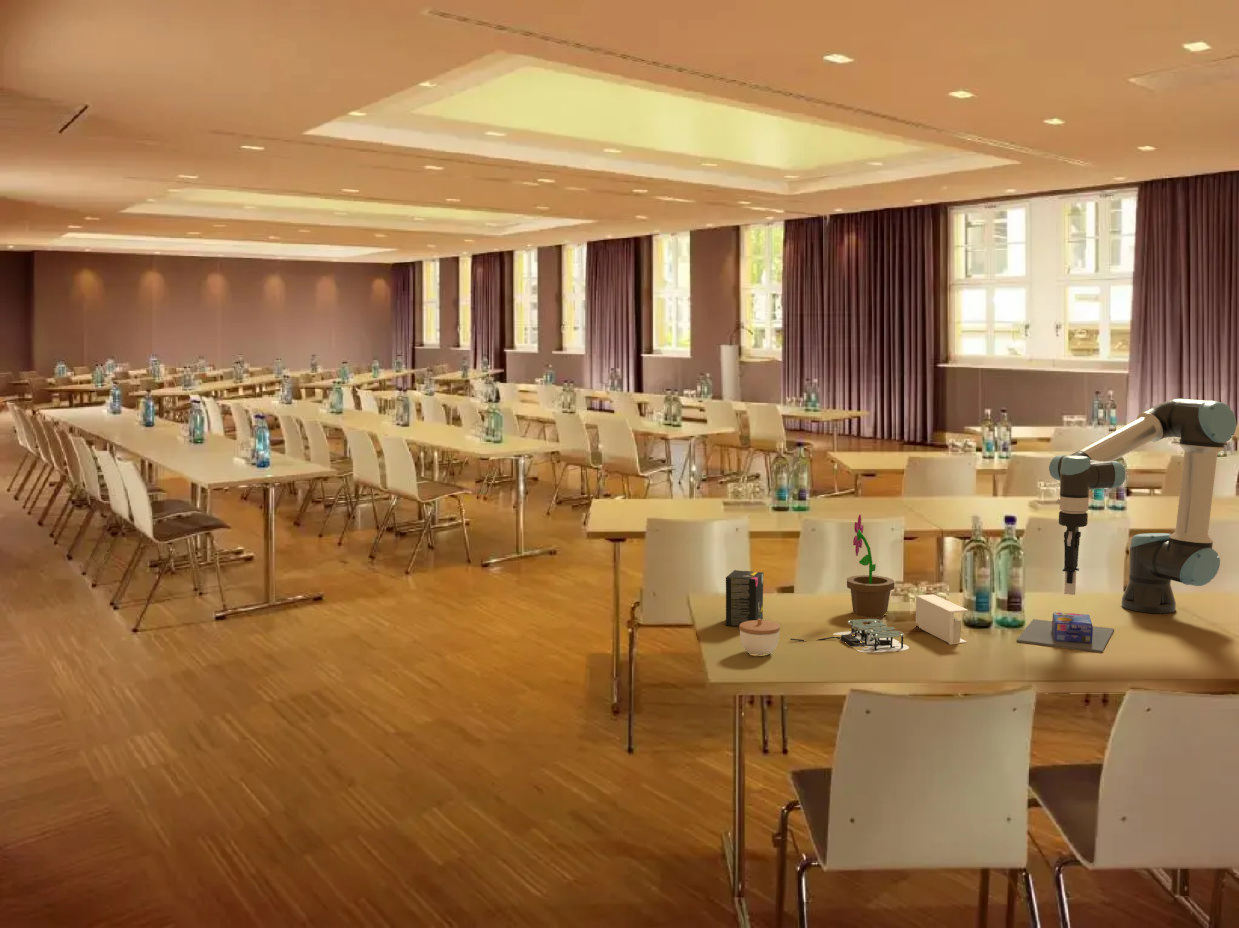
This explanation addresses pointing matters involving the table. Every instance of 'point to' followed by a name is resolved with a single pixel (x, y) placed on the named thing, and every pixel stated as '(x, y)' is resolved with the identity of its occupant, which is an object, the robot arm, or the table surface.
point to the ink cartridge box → (1072, 627)
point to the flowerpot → (868, 584)
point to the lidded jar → (759, 636)
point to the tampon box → (744, 597)
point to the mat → (1043, 635)
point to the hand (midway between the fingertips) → (1069, 593)
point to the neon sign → (871, 637)
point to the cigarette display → (939, 618)
